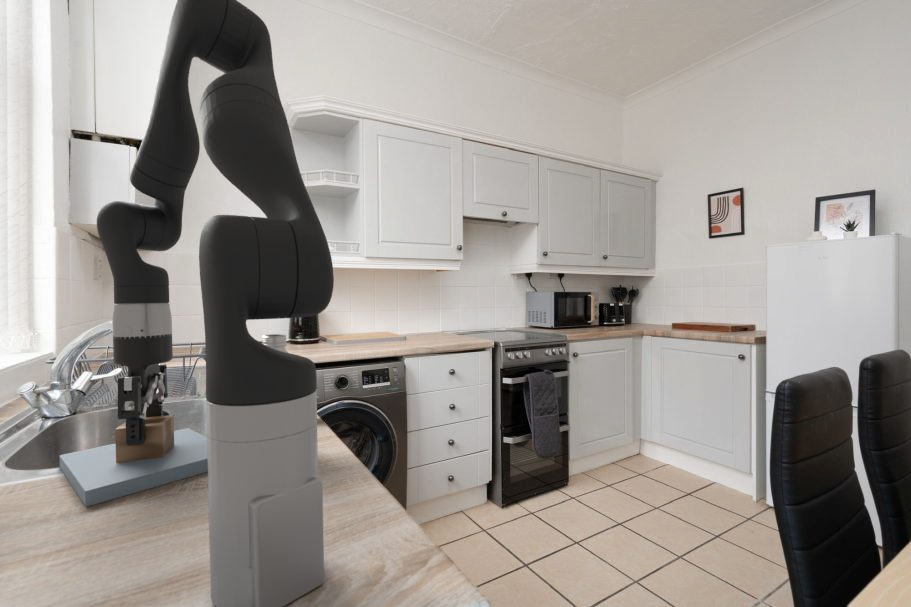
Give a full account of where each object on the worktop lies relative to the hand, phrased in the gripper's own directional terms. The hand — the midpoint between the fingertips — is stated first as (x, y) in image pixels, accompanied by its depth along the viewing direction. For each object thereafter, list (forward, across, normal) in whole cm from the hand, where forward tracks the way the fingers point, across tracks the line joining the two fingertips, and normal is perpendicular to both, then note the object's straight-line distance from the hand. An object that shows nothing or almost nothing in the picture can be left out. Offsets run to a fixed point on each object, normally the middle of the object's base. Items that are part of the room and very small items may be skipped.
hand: (146, 436), depth 68 cm
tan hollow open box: (+3, 0, 0) cm, 3 cm away
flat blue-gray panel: (+5, 0, 0) cm, 5 cm away
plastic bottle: (+5, -3, -19) cm, 20 cm away
